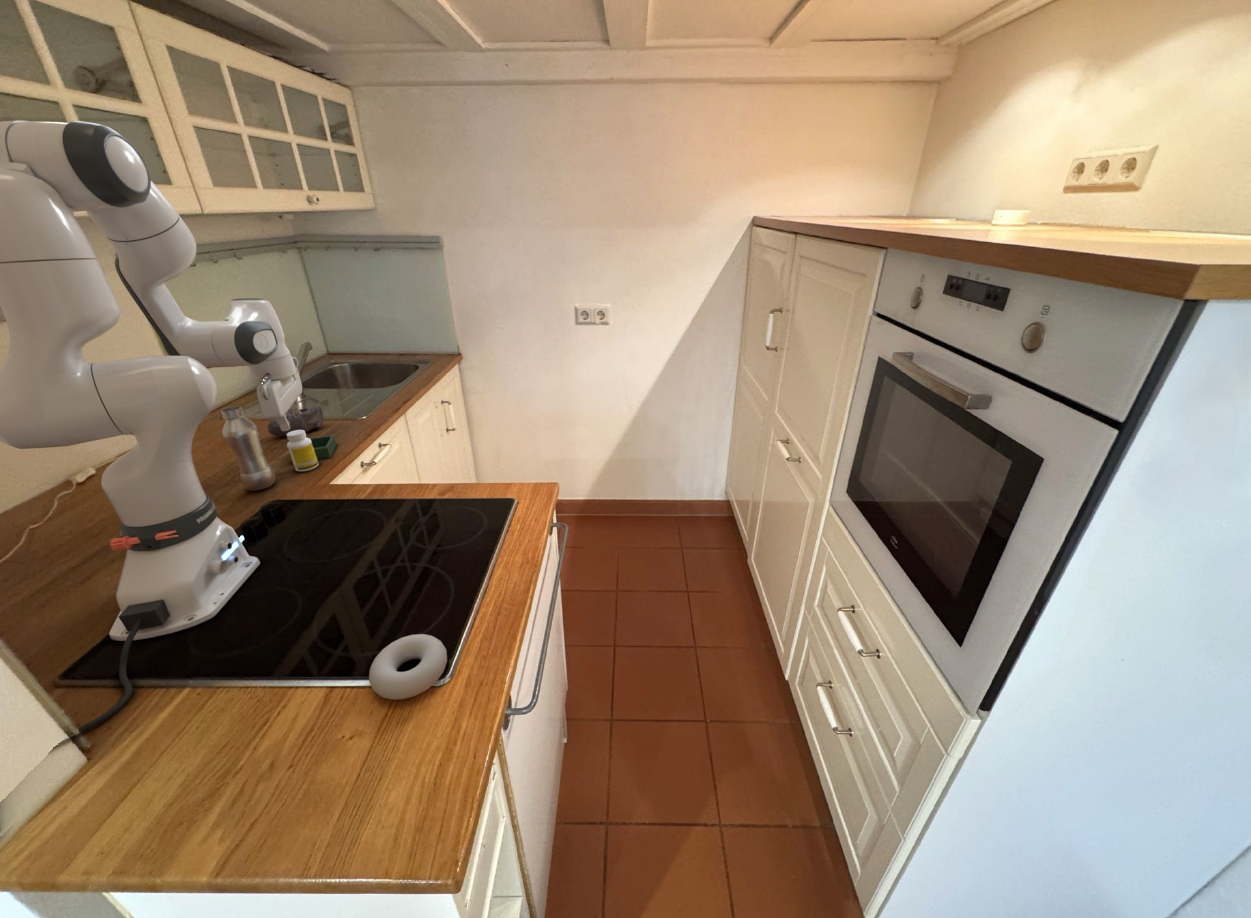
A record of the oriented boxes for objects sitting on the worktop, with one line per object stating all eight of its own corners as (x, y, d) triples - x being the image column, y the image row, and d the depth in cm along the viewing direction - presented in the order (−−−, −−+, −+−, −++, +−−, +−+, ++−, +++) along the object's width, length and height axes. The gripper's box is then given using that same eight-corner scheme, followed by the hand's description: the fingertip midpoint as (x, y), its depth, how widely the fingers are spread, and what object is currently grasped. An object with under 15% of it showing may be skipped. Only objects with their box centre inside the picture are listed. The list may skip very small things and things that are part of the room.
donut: (393, 720, 63) (463, 669, 69) (386, 702, 61) (458, 652, 68) (360, 678, 69) (427, 635, 75) (353, 660, 67) (422, 617, 74)
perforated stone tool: (272, 442, 145) (263, 419, 142) (270, 436, 149) (262, 414, 146) (329, 428, 153) (322, 407, 150) (326, 424, 157) (319, 403, 154)
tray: (330, 457, 134) (326, 447, 133) (292, 463, 132) (288, 452, 130) (336, 444, 142) (333, 435, 140) (301, 449, 139) (297, 439, 138)
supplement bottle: (323, 465, 130) (312, 430, 126) (304, 473, 126) (291, 438, 121) (310, 461, 132) (298, 427, 128) (290, 470, 128) (277, 435, 124)
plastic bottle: (239, 490, 119) (206, 411, 110) (269, 478, 124) (239, 402, 115) (255, 496, 116) (221, 416, 107) (284, 483, 121) (254, 406, 112)
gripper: (275, 379, 110) (295, 437, 116) (298, 356, 127) (314, 407, 133) (242, 383, 108) (264, 441, 114) (270, 359, 125) (288, 410, 131)
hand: (291, 422), depth 124 cm, fingers open, 8 cm apart
